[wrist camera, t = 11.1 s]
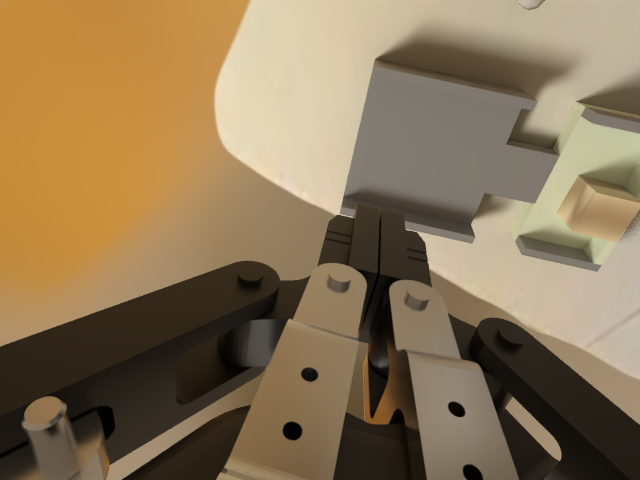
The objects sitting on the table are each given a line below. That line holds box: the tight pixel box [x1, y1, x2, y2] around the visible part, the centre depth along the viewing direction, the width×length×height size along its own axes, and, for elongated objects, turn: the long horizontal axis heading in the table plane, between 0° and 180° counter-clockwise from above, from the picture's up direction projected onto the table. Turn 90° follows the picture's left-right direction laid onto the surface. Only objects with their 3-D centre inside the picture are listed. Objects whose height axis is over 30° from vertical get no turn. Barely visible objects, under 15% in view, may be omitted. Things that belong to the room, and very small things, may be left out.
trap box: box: [340, 59, 640, 271], centre depth 38 cm, size 14×26×4 cm, turn 80°
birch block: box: [557, 175, 640, 242], centre depth 37 cm, size 4×4×4 cm
